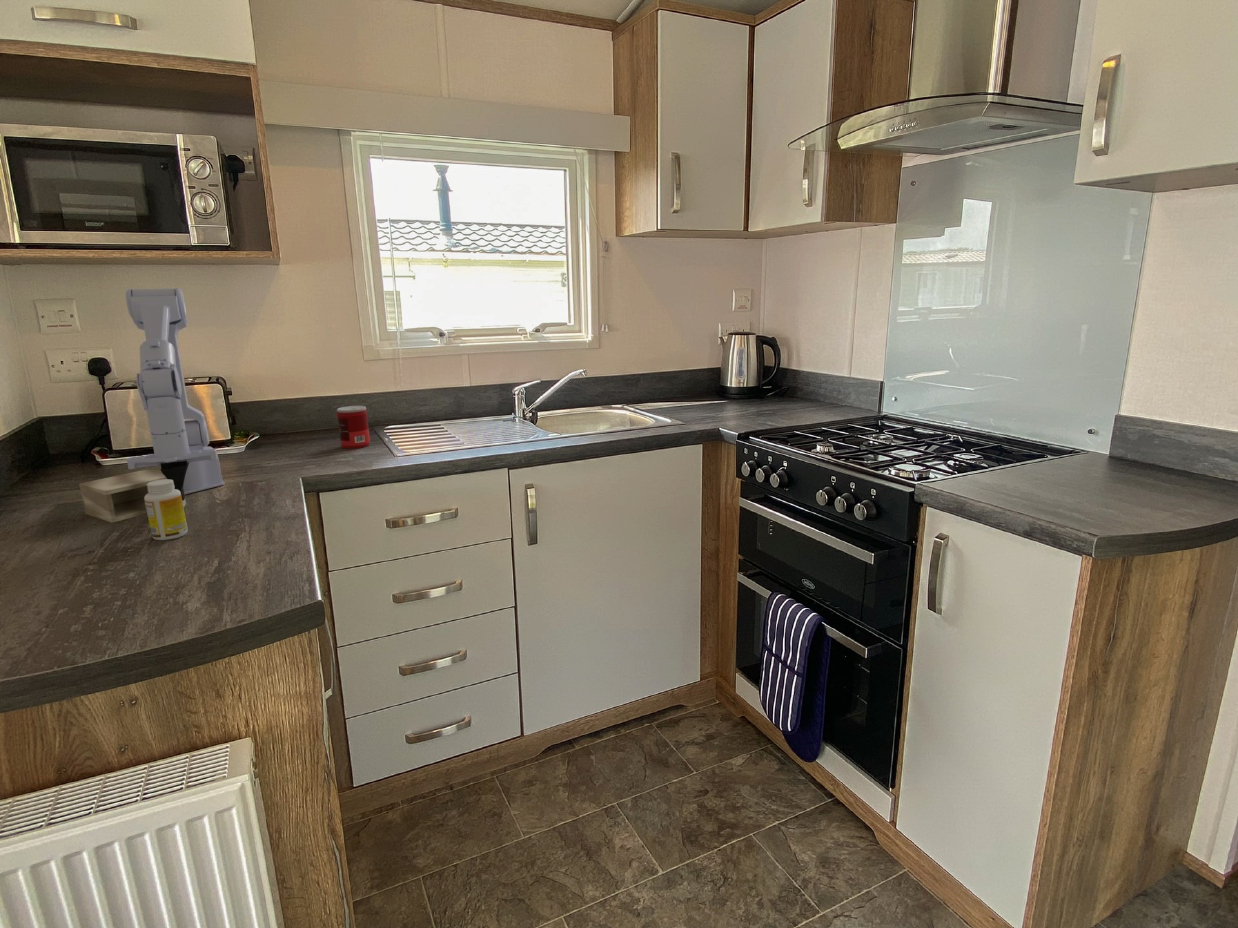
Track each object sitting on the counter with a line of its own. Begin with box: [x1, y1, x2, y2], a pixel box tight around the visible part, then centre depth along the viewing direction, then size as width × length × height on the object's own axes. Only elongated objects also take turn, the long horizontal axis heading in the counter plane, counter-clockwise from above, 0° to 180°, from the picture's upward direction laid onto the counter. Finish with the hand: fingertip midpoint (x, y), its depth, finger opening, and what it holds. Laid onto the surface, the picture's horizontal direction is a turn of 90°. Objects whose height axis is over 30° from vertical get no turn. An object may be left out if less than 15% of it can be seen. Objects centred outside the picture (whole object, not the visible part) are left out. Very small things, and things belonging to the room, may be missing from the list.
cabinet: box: [79, 468, 167, 523], centre depth 140 cm, size 13×11×6 cm
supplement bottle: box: [144, 479, 189, 541], centre depth 123 cm, size 6×6×10 cm
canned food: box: [336, 405, 371, 450], centre depth 194 cm, size 8×8×11 cm
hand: (181, 499), depth 134 cm, fingers closed
